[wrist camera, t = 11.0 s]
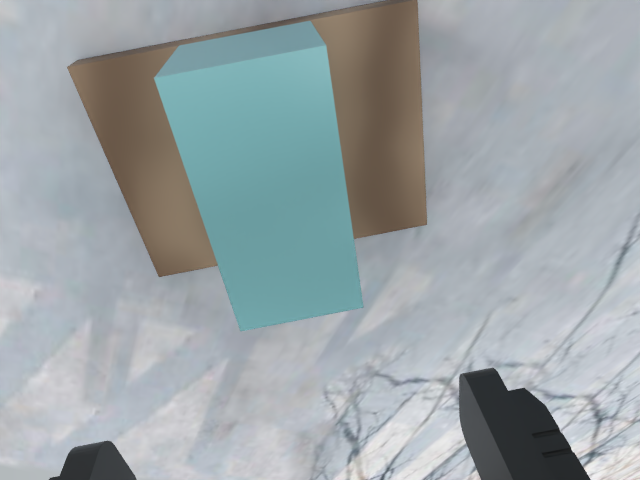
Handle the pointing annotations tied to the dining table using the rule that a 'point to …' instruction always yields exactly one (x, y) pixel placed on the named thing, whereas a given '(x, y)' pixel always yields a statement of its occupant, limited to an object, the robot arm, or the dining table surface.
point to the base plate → (351, 112)
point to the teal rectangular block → (266, 170)
